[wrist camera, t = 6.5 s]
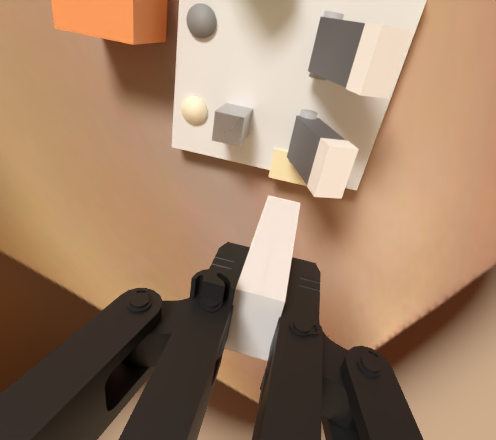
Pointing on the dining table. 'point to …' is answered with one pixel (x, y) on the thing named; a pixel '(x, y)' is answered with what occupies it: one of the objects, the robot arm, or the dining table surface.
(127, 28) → the cap
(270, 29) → the panel
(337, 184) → the lever tagged
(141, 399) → the robot arm
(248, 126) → the post
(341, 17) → the lever plain
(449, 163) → the dining table surface
